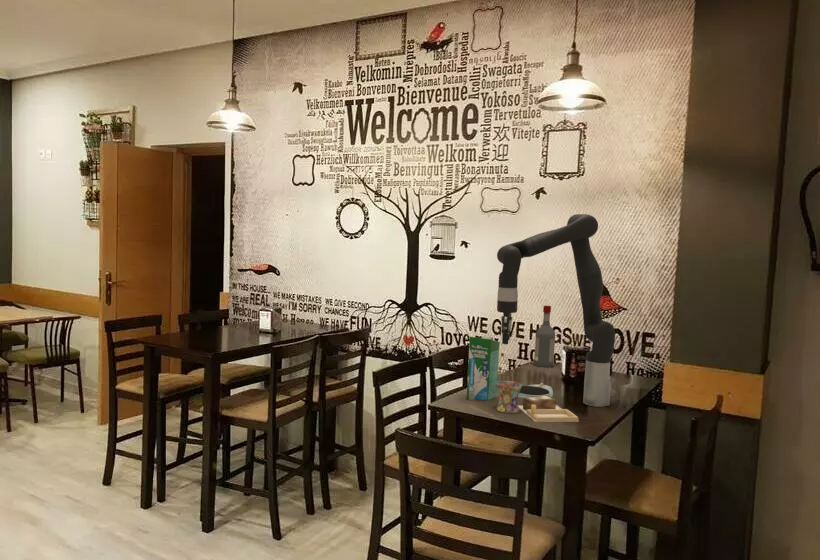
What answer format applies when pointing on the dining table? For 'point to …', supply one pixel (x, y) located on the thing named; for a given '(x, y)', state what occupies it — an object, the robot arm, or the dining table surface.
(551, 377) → the dining table surface
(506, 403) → the mug
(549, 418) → the wooden tray
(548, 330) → the liquor
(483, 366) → the milk carton
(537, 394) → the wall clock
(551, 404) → the brown wooden block
